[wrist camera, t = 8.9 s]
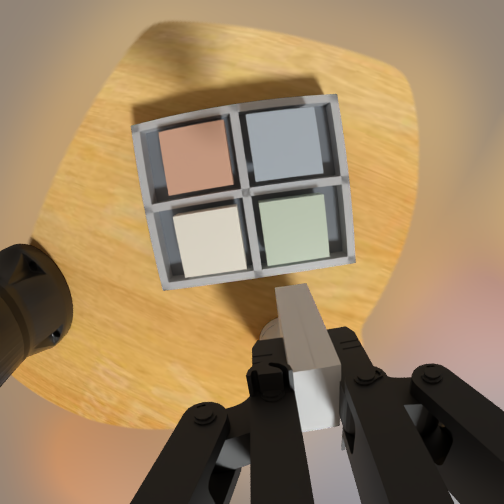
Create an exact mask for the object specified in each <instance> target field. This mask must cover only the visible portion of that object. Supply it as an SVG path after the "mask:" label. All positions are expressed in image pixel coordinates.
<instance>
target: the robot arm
mask: <svg viewBox="0 0 504 504" xmlns="http://www.w3.org/2000/svg"><path fill="white" fill-rule="evenodd" d="M275 294H276V302H277V311H278V319H279V328H280V336H281V338H273V339H266V340H257V342H256V343H255V345H254V346H253V348H252V364H253V365H252V367H251V368H250V369H249V370H248V372H247V375H246V378H247V383H248V389H249V394H250V397H249V398H248V399H247V400H246V401H244V402H242V403H241V404H239V405H236V406H234V407H230V408H227V409H225V408H224V407H223V406H222V405H220V404H218V403H214V402H202V403H199V404H195V405H194V406H192V407H190V408H188V410H187V411H186V412H185V413H184V414H183V416H182V418H181V419H180V421H179V423H178V424H177V426H176V428H175V429H174V431H173V433H172V435H171V436H170V438H169V440H168V442H167V443H166V445H165V446H164V448H163V450H162V451H161V453H160V455H159V457H158V458H157V460H156V462H155V463H154V465H153V466H152V468H151V470H150V471H149V473H148V475H147V476H146V478H145V480H144V481H143V483H142V485H141V486H140V488H139V489H138V491H137V493H136V494H135V496H134V498H133V499H132V501H131V503H130V504H229V503H230V500H231V497H232V494H233V492H234V489H235V486H236V483H237V481H238V478H239V475H240V472H241V468H242V467H243V466H246V465H249V464H250V466H251V467H250V470H251V473H250V474H251V476H250V477H251V504H314V499H313V493H312V487H311V481H310V475H309V470H308V464H307V458H306V452H305V446H304V441H303V435H302V432H307V431H313V430H319V429H324V428H330V427H335V426H339V425H340V418H341V421H342V425H343V432H342V450H344V449H345V447H346V450H347V454H348V457H349V460H350V464H351V468H352V471H353V475H354V478H355V482H356V485H357V489H358V492H359V496H360V500H361V504H454V502H453V500H452V498H451V495H450V494H449V492H450V493H451V494H452V495H453V496H454V497H455V498H456V500H457V501H458V502H459V503H460V504H504V411H502V410H501V409H500V408H499V407H497V406H496V405H495V404H493V403H492V402H491V401H490V400H488V399H487V398H486V397H484V396H483V395H482V394H480V393H479V392H478V391H476V390H475V389H474V388H473V387H471V386H470V385H469V384H467V383H466V382H464V381H463V380H462V379H460V378H459V377H458V376H456V375H455V374H454V373H453V372H451V371H450V370H449V369H447V368H445V367H443V366H442V365H438V364H424V365H422V366H419V367H417V368H416V369H415V370H414V371H413V373H412V377H409V378H392V377H388V376H387V375H386V373H385V372H384V371H383V370H382V369H380V368H377V367H374V366H373V365H372V363H371V361H370V359H369V357H368V355H367V354H366V352H365V350H364V348H363V347H362V345H361V343H360V341H358V338H357V336H356V334H355V332H354V331H352V330H350V329H349V328H347V327H346V326H345V327H340V328H334V329H328V330H326V327H325V325H324V323H323V320H322V318H321V316H320V313H319V311H318V309H317V306H316V304H315V302H314V300H313V297H312V295H311V293H310V290H309V288H308V286H307V284H306V283H304V284H297V285H290V286H283V287H275ZM72 318H73V305H72V299H71V295H70V291H69V289H68V286H67V283H66V281H65V279H64V277H63V275H62V274H61V272H60V270H59V269H58V268H57V266H56V265H55V264H54V262H53V261H52V260H51V259H50V258H49V257H48V256H47V255H46V254H45V253H43V252H42V251H40V250H39V249H37V248H35V247H33V246H31V245H27V244H15V245H12V246H10V247H8V248H6V249H3V250H2V251H0V387H1V386H2V384H3V383H4V382H5V381H6V380H7V379H8V377H9V376H10V375H11V374H12V373H13V372H14V371H15V370H16V368H17V367H18V366H19V365H20V364H21V363H22V362H23V361H24V360H25V359H26V358H27V357H29V356H31V355H34V354H36V353H39V352H42V351H44V350H47V349H50V348H52V347H54V346H55V345H56V344H58V343H59V342H60V341H61V340H62V338H63V337H64V336H65V335H66V334H67V333H68V331H69V329H70V327H71V323H72Z"/></svg>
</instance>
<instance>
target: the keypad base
mask: <svg viewBox="0 0 504 504" xmlns="http://www.w3.org/2000/svg"><path fill="white" fill-rule="evenodd" d="M307 107H314V110H315V116H316V122H317V129H318V136H319V143H320V150H321V157H322V165H323V173H321V174H313V175H304V176H296V177H288V178H280V179H273V180H266V181H259V182H256V181H255V175H254V169H253V162H252V155H251V149H250V142H249V136H248V129H247V123H246V114H253V113H260V112H268V111H277V110H286V109H296V108H307ZM218 120H224V122H225V127H226V133H227V140H228V146H229V153H230V159H231V166H232V172H233V178H234V184H233V185H228V186H222V187H216V188H210V189H204V190H198V191H192V192H187V193H181V194H176V195H170V196H169V194H168V188H167V183H166V177H165V171H164V165H163V159H162V152H161V146H160V139H159V132H162V131H167V130H171V129H176V128H181V127H186V126H191V125H196V124H201V123H206V122H212V121H218ZM131 130H132V137H133V144H134V151H135V157H136V163H137V169H138V175H139V181H140V187H141V192H142V198H143V203H144V208H145V213H146V218H147V223H148V228H149V233H150V237H151V242H152V246H153V251H154V255H155V260H156V264H157V268H158V272H159V276H160V280H161V284H162V288H163V291H165V290H173V289H181V288H188V287H196V286H204V285H211V284H218V283H226V282H233V281H240V280H247V279H254V278H261V277H268V276H274V275H281V274H288V273H294V272H301V271H307V270H314V269H320V268H326V267H333V266H339V265H345V264H351V263H356V262H355V243H354V228H353V215H352V204H351V193H350V183H349V174H348V166H347V157H346V150H345V142H344V135H343V128H342V121H341V115H340V109H339V103H338V97H337V94H328V95H312V96H299V97H288V98H278V99H269V100H261V101H253V102H246V103H239V104H232V105H226V106H220V107H214V108H209V109H203V110H198V111H193V112H188V113H183V114H178V115H174V116H169V117H165V118H160V119H156V120H152V121H148V122H144V123H140V124H136V125H132V126H131ZM318 192H319V193H322V194H324V202H325V211H326V221H327V232H328V243H329V255H330V257H325V258H318V259H312V260H305V261H298V262H292V263H285V264H278V265H271V266H268V264H267V259H266V252H265V245H264V238H263V231H262V224H261V217H260V210H259V203H258V201H259V200H266V199H273V198H280V197H287V196H295V195H302V194H310V193H318ZM232 204H238V210H239V217H240V223H241V229H242V235H243V242H244V248H245V254H246V261H247V269H244V270H237V271H230V272H223V273H216V274H209V275H202V276H194V277H187V278H185V274H184V269H183V265H182V260H181V255H180V250H179V246H178V241H177V236H176V231H175V226H174V221H173V216H175V215H176V214H178V213H183V212H189V211H195V210H201V209H207V208H213V207H219V206H226V205H232Z"/></svg>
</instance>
